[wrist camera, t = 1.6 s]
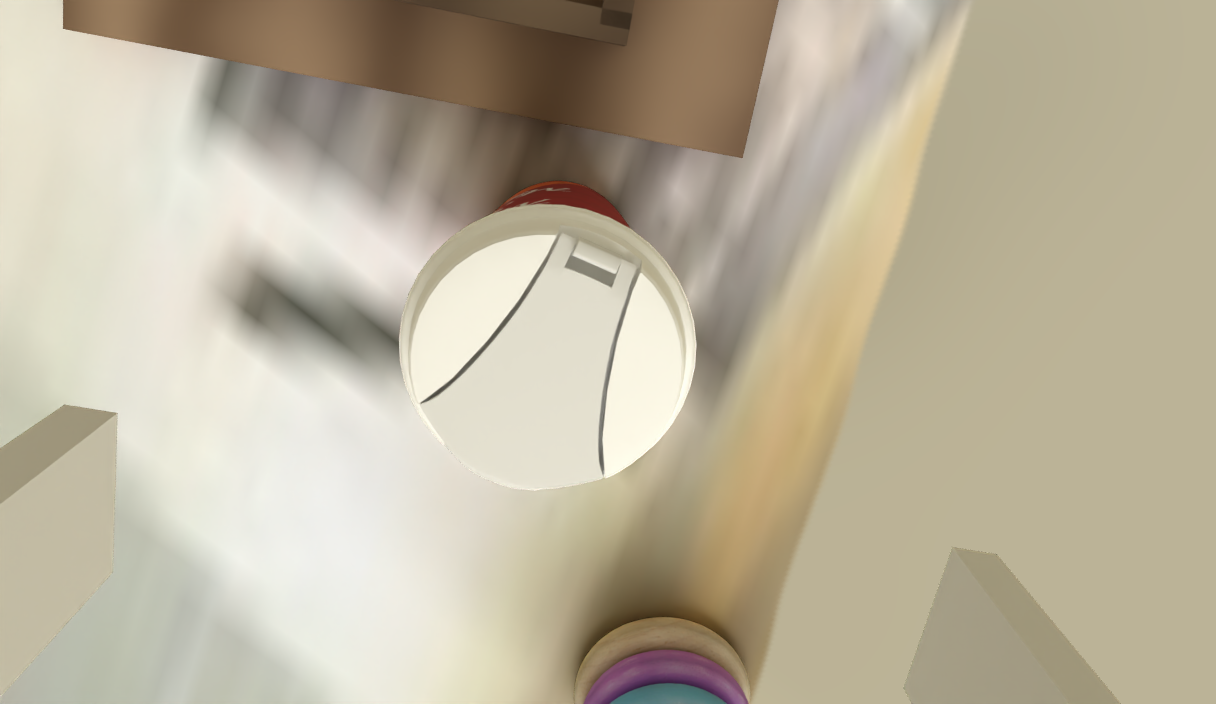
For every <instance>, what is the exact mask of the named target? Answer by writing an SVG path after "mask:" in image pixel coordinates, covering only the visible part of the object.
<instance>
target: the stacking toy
mask: <svg viewBox="0 0 1216 704" xmlns="http://www.w3.org/2000/svg"><path fill="white" fill-rule="evenodd" d="M574 704H750V684H749V680H748V676H747V673H746V670H745V667H744V665H743V663H742V661H741V660H740V658H739V656H738V654H737V653H736V652H735V650H734V649H733V648H732V647H731V646H730V645H729V644H728V643H727V641H726V640H724V639H723V638H722V637H720V636H719V635H718V634H717V633H715V632H714V631H712V630H710V629H709V628H706V627H704V626H702V625H700V624H697V623H695V622H692V621H689V620H685V619H680V618H672V617H654V618H647V619H641V620H637V621H634V622H630V623H627V624H625V625H622V626H620V627H618V628H616V629H614V630H613V631H611V632H610V633H608V634H607V635H605V636H604V637H603V638H602V639H600V640H599V641H598V642H597V643H596V644H595V645H594V646H593V647H592V649H591V650H590V651H589V652H588V654H587V655H586V657H585V658H584V660H583V662H582V664H581V666H580V669H579V671H578V674H577V677H576V681H575V688H574Z"/></svg>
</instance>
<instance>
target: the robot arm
mask: <svg viewBox="0 0 1216 704" xmlns="http://www.w3.org/2000/svg"><path fill="white" fill-rule="evenodd" d="M117 414H118V413H114V412H107V411H101V410H95V409H89V408H82V407H76V406H70V405H63V406H62V407H60V408H59V409H57V410H56V411H55V412H53V413H52V414H50V415H49V416H47V417H46V418H44V419H43V420H41V421H40V422H38V423H37V424H35V425H34V426H32V427H31V428H30V429H28V430H27V431H25V432H24V433H22V434H21V435H19V436H18V437H16V438H15V439H13V440H12V441H10V442H9V443H7V444H6V445H5V446H3V447H2V448H0V697H1V696H2V695H3V694H4V693H5V691H6V690H7V689H8V688H9V687H10V686H11V685H12V684H13V683H14V681H15V680H16V679H17V678H18V677H19V676H20V675H21V674H22V673H23V671H24V670H25V669H26V668H27V667H28V666H29V665H30V664H31V663H32V661H33V660H34V659H35V658H36V657H37V656H38V655H39V654H40V653H41V651H42V650H43V649H44V648H45V647H46V646H47V645H48V644H49V643H50V642H51V640H52V639H53V638H54V637H55V636H56V635H57V634H58V633H59V632H60V630H61V629H62V628H63V627H64V626H65V625H66V624H67V623H68V622H69V620H70V619H71V618H72V617H73V616H74V615H75V614H76V613H77V612H78V610H79V609H80V608H81V607H82V606H83V605H84V604H85V603H86V602H87V600H88V599H89V598H90V597H91V596H92V595H93V594H94V593H95V592H96V590H97V589H98V588H99V587H100V586H101V585H102V584H103V583H104V582H105V581H106V579H107V578H108V577H109V576H110V575H111V574H112V573H113V552H114V517H115V483H116V449H117ZM904 690H905V692H906V694H907V696H908V698H909V700H910V702H911V704H1121V703H1120V702H1119V701H1118V700H1117V698H1116V697H1115V696H1114V695H1113V694H1112V692H1111V691H1110V690H1109V689H1108V688H1107V686H1106V685H1105V684H1104V683H1103V682H1102V680H1101V679H1100V678H1099V677H1098V675H1097V674H1096V673H1095V672H1094V671H1093V669H1092V668H1091V667H1090V666H1089V665H1088V664H1087V662H1086V661H1085V660H1084V659H1083V658H1082V656H1081V655H1080V654H1079V653H1078V651H1077V650H1076V649H1075V648H1074V647H1073V645H1072V644H1071V643H1070V642H1069V641H1068V639H1067V638H1066V637H1065V636H1064V634H1063V633H1062V632H1061V631H1060V630H1059V628H1058V627H1057V626H1056V625H1055V624H1054V622H1053V621H1052V620H1051V619H1050V618H1049V616H1048V615H1047V614H1046V613H1045V612H1044V610H1043V609H1042V608H1041V607H1040V606H1039V605H1038V603H1037V602H1036V601H1035V600H1034V598H1033V597H1032V596H1031V595H1030V593H1028V591H1027V590H1026V589H1025V588H1024V586H1023V585H1022V584H1021V583H1020V581H1019V580H1018V579H1017V578H1016V577H1015V575H1014V574H1013V573H1012V572H1011V571H1010V569H1009V568H1008V567H1007V566H1006V565H1005V564H1004V562H1003V561H1002V560H1001V559H1000V557H999V556H998V555H997V554H992V553H986V552H979V551H973V550H966V549H961V548H954V547H952V549H951V552H950V555H949V558H948V561H947V564H946V567H945V569H944V572H943V575H942V578H941V581H940V584H939V587H938V589H937V592H936V595H935V598H934V601H933V604H932V607H931V610H930V612H929V616H928V618H927V621H926V624H925V627H924V630H923V633H922V636H921V638H920V641H919V644H918V647H917V650H916V653H915V656H914V659H913V661H912V665H911V667H910V670H909V673H908V676H907V679H906V682H905V685H904Z"/></svg>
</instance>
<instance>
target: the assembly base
mask: <svg viewBox="0 0 1216 704" xmlns="http://www.w3.org/2000/svg"><path fill="white" fill-rule="evenodd" d="M778 1H779V0H63V29H67V30H72V31H77V32H83V33H88V34H93V35H98V36H104V37H109V38H114V39H119V40H125V41H130V42H135V43H140V44H146V45H151V46H156V47H161V48H167V49H172V50H177V51H182V52H188V53H193V54H198V55H203V56H209V57H214V58H219V59H224V60H230V61H235V62H240V63H245V64H251V65H256V66H261V67H266V68H272V69H277V70H282V71H287V72H293V73H298V74H303V75H308V76H314V77H319V78H324V79H329V80H335V81H340V82H345V83H351V84H356V85H361V86H366V87H372V88H377V89H382V90H387V91H393V92H398V93H403V94H408V95H414V96H419V97H424V98H429V99H435V100H440V101H445V102H450V103H456V104H461V105H466V106H471V107H477V108H482V109H487V110H492V111H498V112H503V113H508V114H513V115H519V116H524V117H529V118H534V119H540V120H545V121H550V122H555V123H561V124H566V125H571V126H576V127H582V128H587V129H592V130H597V131H603V132H608V133H613V134H618V135H624V136H629V137H634V138H639V139H645V140H650V141H655V142H660V143H666V144H671V145H676V146H681V147H687V148H692V149H697V150H702V151H708V152H713V153H718V154H723V155H729V156H734V157H739V158H743V154H744V149H745V145H746V140H747V136H748V132H749V127H750V123H751V119H752V114H753V110H754V106H755V101H756V97H757V92H758V88H759V84H760V79H761V75H762V71H763V66H764V62H765V58H766V53H767V49H768V44H769V40H770V36H771V31H772V27H773V23H774V18H775V14H776V9H777V5H778Z"/></svg>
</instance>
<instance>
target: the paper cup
mask: <svg viewBox="0 0 1216 704" xmlns="http://www.w3.org/2000/svg"><path fill="white" fill-rule="evenodd" d="M399 351H400V364H401V368H402V373H403V378H404V383H405V385H406V388H407V390H408V393H409V396H410V398H411V401H412V403H413V405H414V407H415V409H416V410H417V412H418V414H419V415H420V417H421V419H422V421H423V422H424V424H425V425H426V426H427V427H428V428H429V430H430V431H431V432H432V433H433V435H434V436H435V437H436V438H437V440H439V441H440V442H441V443H442V444H443V445H444V446H445V447H446V448H447V449H448V450H449V451H450V452H451V453H452V454H453V455H454V457H455V458H456V459H457V460H458V461H459V462H460V463H461V464H462V465H463V466H464V467H465V468H467V469H468V470H469V471H471V472H472V473H474V474H476V475H478V476H480V477H482V478H484V479H486V480H488V481H491V482H493V483H496V484H499V485H502V486H506V487H509V488H514V489H521V490H533V491H535V490H541V489H554V488H562V487H568V486H574V485H579V484H583V483H588V482H592V481H596V480H600V479H603V477H605V479H606V478H608V477H610V476H612V475H615V474H616V473H618V472H619V471H621V470H623V469H624V468H626V467H627V466H629V465H631V464H632V463H633V462H634V461H636V460H637V459H638V458H640V457H641V456H642V455H643V454H644V453H646V452H647V451H648V450H649V449H650V448H651V447H653V446H654V445H655V444H656V443H657V442H658V441H659V439H660V438H661V437H662V436H663V435H664V434H665V432H666V431H667V430H668V429H669V428H670V427H671V425H672V423H673V422H674V420H675V418H676V417H677V415H678V413H679V412H680V410H681V409H682V406H683V404H684V401H685V399H686V397H687V394H688V392H689V389H690V386H691V382H692V377H693V373H694V369H695V358H696V336H695V326H694V320H693V317H692V313H691V309H690V306H689V302H688V299H687V297H686V295H685V293H684V291H683V288H682V286H681V284H680V282H679V280H678V278H677V277H676V275H675V274H674V272H673V271H672V269H671V268H670V266H669V265H668V263H667V262H666V260H665V259H664V258H663V257H662V256H661V255H660V254H659V253H658V252H657V251H656V250H655V249H654V248H653V247H652V245H651V244H650V243H648V242H647V241H646V240H644V239H643V238H642V237H641V236H639V235H638V234H637V233H635V232H634V231H633V230H631V229H630V227H629V226H628V224H627V223H626V221H625V220H624V219H623V217H622V216H621V215H620V213H619V212H618V211H617V210H616V209H615V207H614V206H613V205H612V204H611V203H610V202H609V201H608V200H607V199H605V198H604V197H603V196H601V195H600V194H599V193H597V192H595V191H594V190H592V189H590V188H588V187H586V186H583V185H580V184H577V183H573V182H567V181H549V182H543V183H539V184H535V185H533V186H530V187H528V188H525V189H523V190H522V191H520V192H518V193H517V194H515V195H514V196H512V197H511V198H510V199H508V200H507V201H506V202H505V203H504V204H502V205H501V206H500V207H499V208H498V209H497V210H496V211H495V212H494V213H492V214H490V215H488V216H486V217H484V218H482V219H480V220H478V221H475V222H473V223H471V224H469V225H468V226H466V227H465V228H463V229H462V230H461V231H459V232H458V233H456V234H455V235H453V236H452V237H451V238H449V239H448V240H447V241H446V242H445V243H444V244H443V245H442V246H441V247H440V248H439V249H438V250H437V251H436V252H435V253H434V254H433V255H432V256H431V258H430V259H429V260H428V262H427V263H426V265H425V266H424V267H423V269H422V270H421V271H420V273H419V274H418V276H417V278H416V280H415V282H414V284H413V286H412V288H411V290H410V292H409V294H408V297H407V301H406V304H405V307H404V311H403V314H402V319H401V326H400V334H399Z"/></svg>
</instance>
